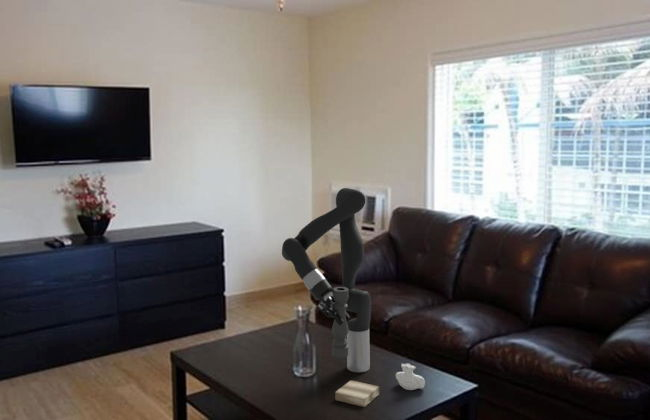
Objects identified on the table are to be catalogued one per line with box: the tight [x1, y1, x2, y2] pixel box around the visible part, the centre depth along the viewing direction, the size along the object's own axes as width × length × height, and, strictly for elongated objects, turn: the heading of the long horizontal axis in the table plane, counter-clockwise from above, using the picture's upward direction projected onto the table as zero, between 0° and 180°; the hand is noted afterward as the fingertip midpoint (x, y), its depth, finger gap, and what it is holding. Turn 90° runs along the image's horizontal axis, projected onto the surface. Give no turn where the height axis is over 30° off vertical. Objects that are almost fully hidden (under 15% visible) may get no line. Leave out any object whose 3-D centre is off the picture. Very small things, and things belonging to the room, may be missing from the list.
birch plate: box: [334, 380, 380, 408], centre depth 220 cm, size 12×12×3 cm
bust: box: [395, 363, 426, 391], centre depth 226 cm, size 12×8×11 cm
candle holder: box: [331, 286, 349, 359], centre depth 217 cm, size 6×6×25 cm
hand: (344, 321), depth 216 cm, fingers closed on candle holder, 4 cm apart
